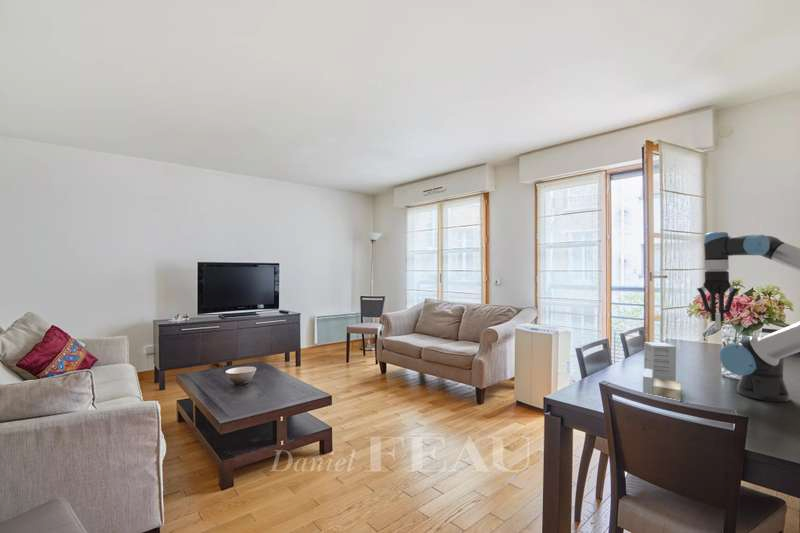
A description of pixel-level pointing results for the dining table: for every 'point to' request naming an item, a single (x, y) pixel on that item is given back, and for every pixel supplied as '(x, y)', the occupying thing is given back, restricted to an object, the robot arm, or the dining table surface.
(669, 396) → the maple block
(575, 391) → the dining table surface
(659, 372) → the supplement box
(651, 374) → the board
